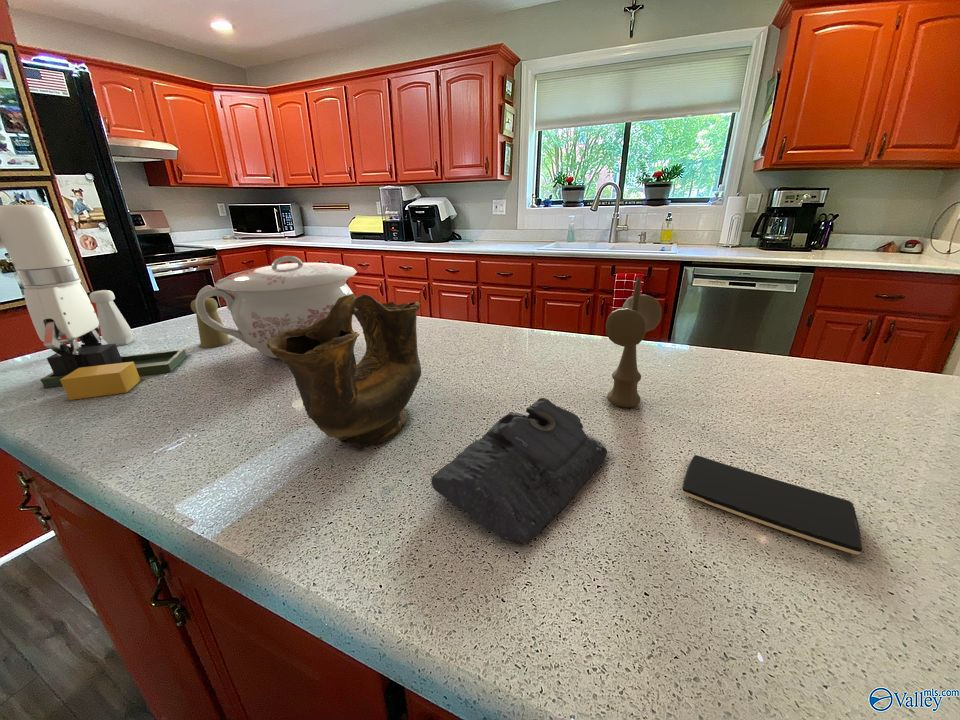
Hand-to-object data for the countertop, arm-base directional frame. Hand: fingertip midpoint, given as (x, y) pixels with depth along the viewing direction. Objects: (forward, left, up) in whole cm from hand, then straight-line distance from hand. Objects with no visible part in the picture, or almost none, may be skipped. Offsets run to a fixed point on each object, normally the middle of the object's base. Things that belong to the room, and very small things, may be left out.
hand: (89, 366), depth 79 cm
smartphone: (+92, -70, -2) cm, 116 cm away
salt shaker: (-4, +21, -2) cm, 21 cm away
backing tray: (+5, 0, -2) cm, 5 cm away
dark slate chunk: (+70, -56, -2) cm, 90 cm away
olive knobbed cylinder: (+19, +12, -2) cm, 22 cm away
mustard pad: (+7, -10, -2) cm, 12 cm away
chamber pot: (+40, 0, -2) cm, 40 cm away
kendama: (+92, -46, -2) cm, 103 cm away
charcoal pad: (0, 0, 0) cm, 0 cm away
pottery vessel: (+53, -40, -2) cm, 66 cm away
